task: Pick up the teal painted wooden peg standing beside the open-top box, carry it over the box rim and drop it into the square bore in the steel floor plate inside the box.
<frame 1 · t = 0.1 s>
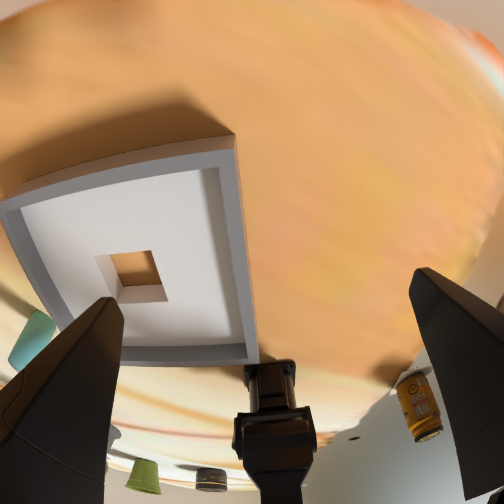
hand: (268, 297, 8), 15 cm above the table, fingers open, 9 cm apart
plant pot: (146, 460, 68), on the table
peg: (44, 321, 30), on the table
jar: (211, 470, 71), on the table
condiment: (411, 377, 41), on the table
box: (138, 262, 25), on the table
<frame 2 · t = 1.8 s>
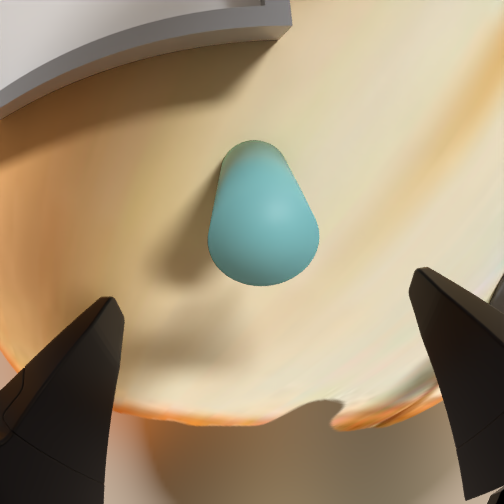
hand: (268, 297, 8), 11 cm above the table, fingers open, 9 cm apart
peg: (254, 172, 17), on the table
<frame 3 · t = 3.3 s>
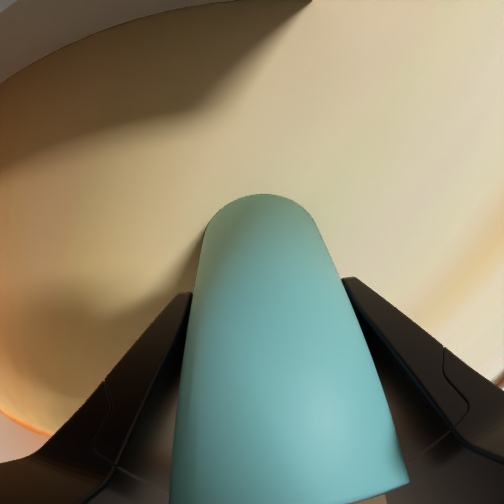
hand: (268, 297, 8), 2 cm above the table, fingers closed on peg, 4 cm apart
peg: (261, 248, 10), on the table, touching gripper
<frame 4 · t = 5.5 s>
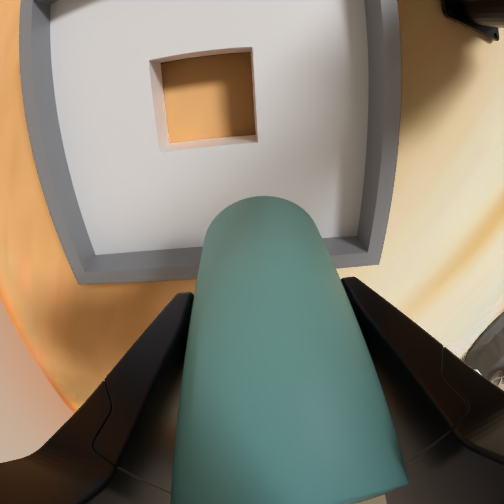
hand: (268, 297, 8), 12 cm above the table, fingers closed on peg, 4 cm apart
peg: (262, 250, 10), point 10 cm above the table, touching gripper
lantern: (498, 339, 35), on the table
box: (207, 96, 15), on the table
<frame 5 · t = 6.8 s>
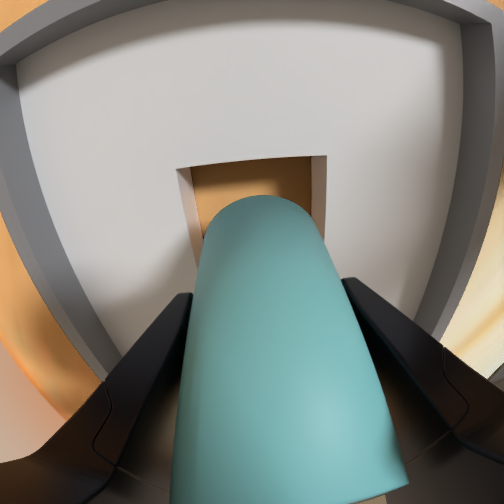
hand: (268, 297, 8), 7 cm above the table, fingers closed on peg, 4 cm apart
peg: (262, 249, 10), point 4 cm above the table, touching gripper
box: (254, 201, 13), on the table
when the fingers open (4 cm above the table, at t = 7.8 s): peg drops 1 cm, resting in box.
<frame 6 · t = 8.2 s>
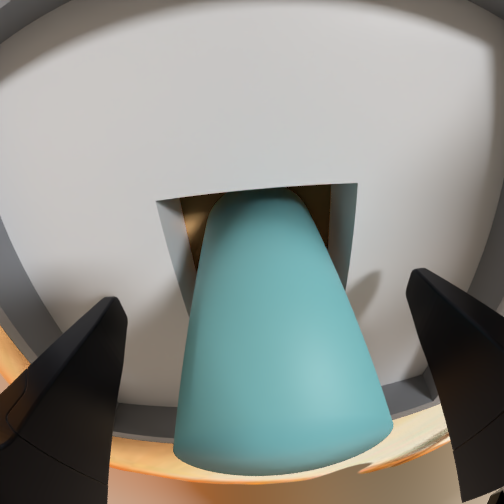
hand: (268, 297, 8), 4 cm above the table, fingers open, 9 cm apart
peg: (259, 232, 11), resting in box
box: (259, 231, 11), on the table
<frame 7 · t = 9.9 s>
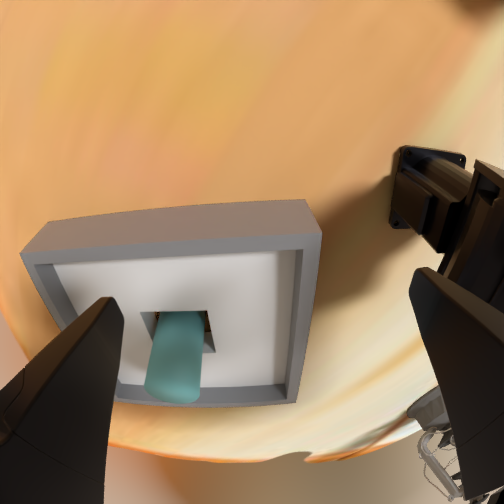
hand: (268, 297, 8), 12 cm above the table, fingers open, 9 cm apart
peg: (183, 312, 24), resting in box
lantern: (441, 397, 45), on the table
box: (183, 312, 24), on the table
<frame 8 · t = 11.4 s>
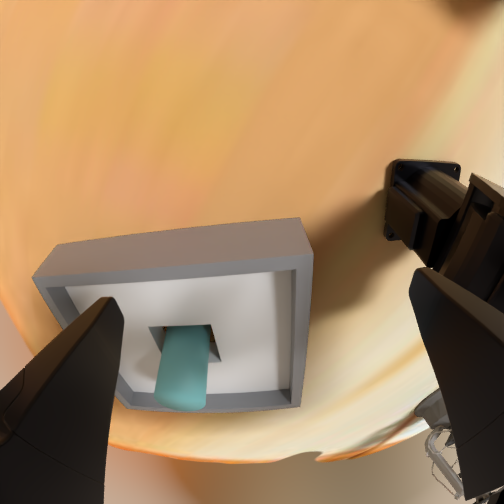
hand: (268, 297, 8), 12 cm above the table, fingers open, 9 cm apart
peg: (189, 325, 26), resting in box
lantern: (448, 395, 44), on the table
box: (189, 325, 26), on the table
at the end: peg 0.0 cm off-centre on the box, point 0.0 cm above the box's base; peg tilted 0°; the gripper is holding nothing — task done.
